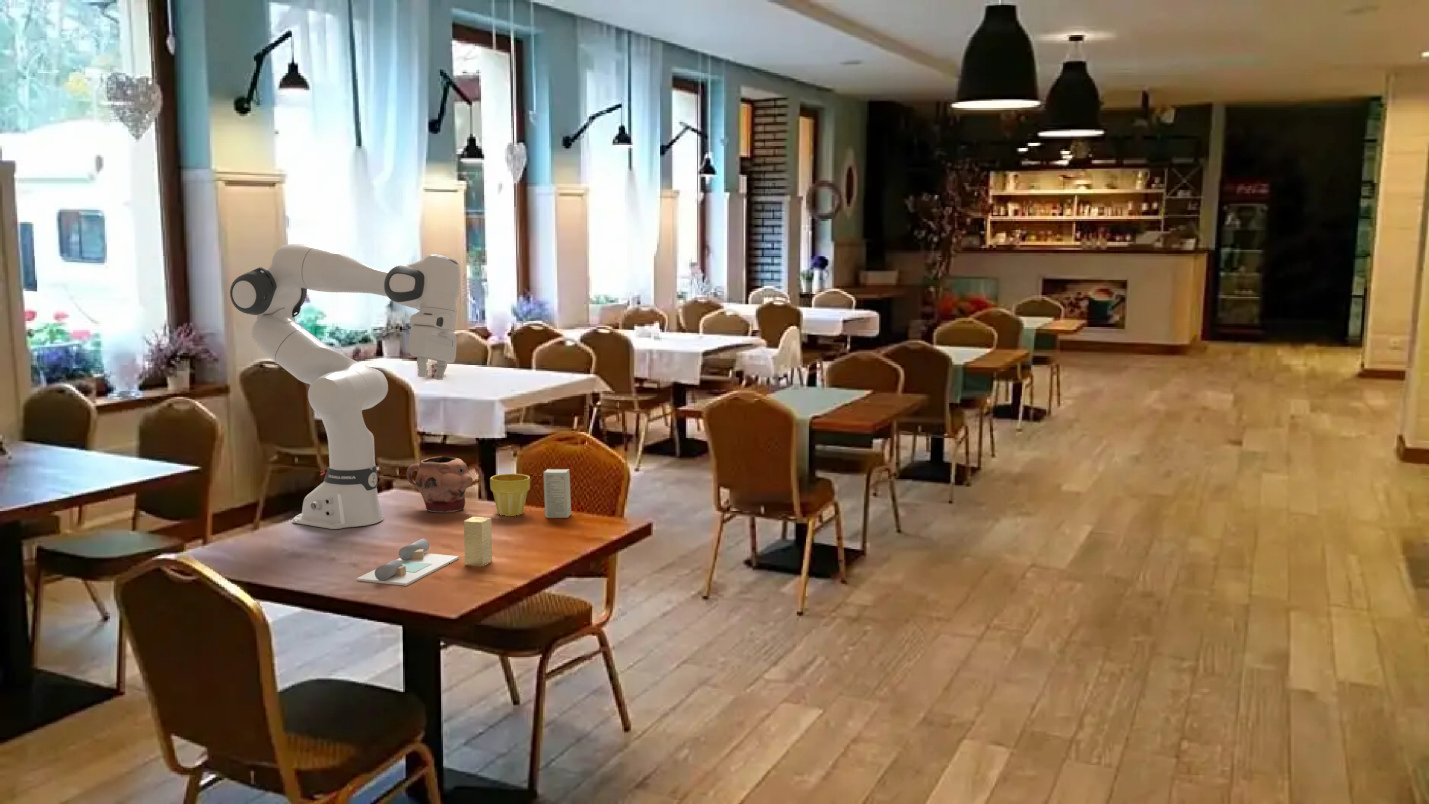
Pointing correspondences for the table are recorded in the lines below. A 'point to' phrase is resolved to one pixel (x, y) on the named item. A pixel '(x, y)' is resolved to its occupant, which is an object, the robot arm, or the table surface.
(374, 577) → the white flat board
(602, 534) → the table surface
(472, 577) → the table surface
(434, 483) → the pink clay mug
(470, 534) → the block
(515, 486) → the plant pot
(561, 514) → the skincare box
